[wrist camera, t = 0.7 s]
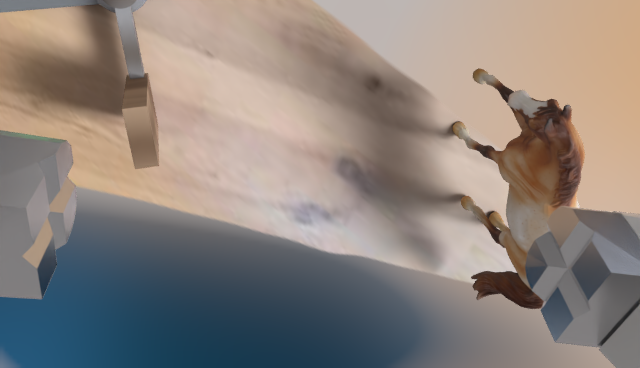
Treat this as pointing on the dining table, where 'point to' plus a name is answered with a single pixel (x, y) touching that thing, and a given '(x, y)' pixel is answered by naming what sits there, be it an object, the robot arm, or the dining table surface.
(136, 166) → the lever with brown handle
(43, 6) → the white-striped grey panel
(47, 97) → the dining table surface
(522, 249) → the horse figurine
